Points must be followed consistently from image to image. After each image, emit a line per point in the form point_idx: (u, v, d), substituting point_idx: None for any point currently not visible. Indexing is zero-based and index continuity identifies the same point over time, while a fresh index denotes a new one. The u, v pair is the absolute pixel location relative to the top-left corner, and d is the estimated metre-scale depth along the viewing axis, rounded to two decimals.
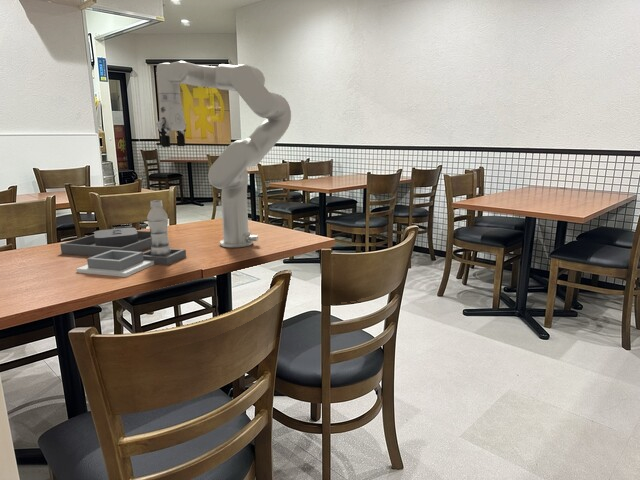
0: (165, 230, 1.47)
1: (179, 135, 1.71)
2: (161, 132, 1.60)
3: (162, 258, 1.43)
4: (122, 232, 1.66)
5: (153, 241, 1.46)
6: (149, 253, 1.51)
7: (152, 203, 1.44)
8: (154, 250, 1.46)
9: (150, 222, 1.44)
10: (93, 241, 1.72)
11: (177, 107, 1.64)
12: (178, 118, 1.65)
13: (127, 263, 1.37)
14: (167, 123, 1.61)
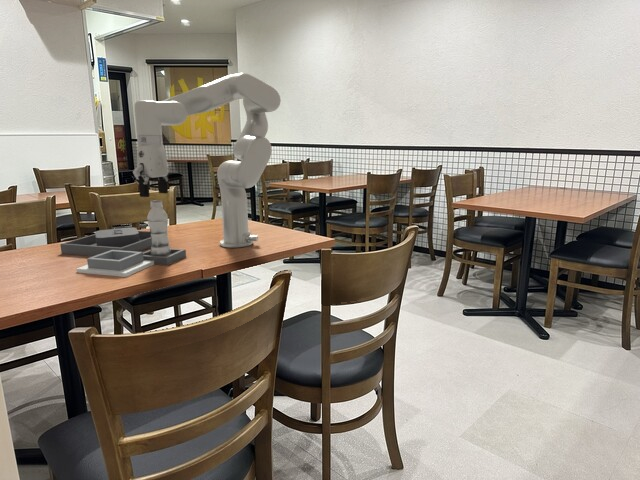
0: (165, 230, 1.47)
1: (161, 181, 1.48)
2: (138, 180, 1.37)
3: (162, 258, 1.43)
4: (123, 232, 1.66)
5: (153, 241, 1.46)
6: (149, 253, 1.51)
7: (152, 203, 1.44)
8: (154, 250, 1.46)
9: (150, 222, 1.44)
10: (93, 241, 1.72)
11: (158, 151, 1.41)
12: (159, 163, 1.41)
13: (127, 263, 1.37)
14: (146, 170, 1.38)
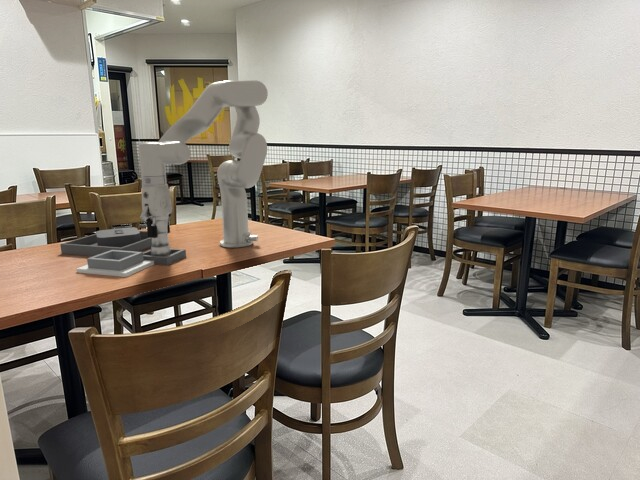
0: (165, 230, 1.47)
1: None
2: (147, 223, 1.42)
3: (162, 258, 1.43)
4: (124, 232, 1.67)
5: (153, 241, 1.46)
6: (149, 253, 1.51)
7: None
8: (154, 250, 1.46)
9: None
10: (93, 241, 1.72)
11: (162, 190, 1.44)
12: (163, 203, 1.45)
13: (127, 263, 1.37)
14: (151, 213, 1.41)
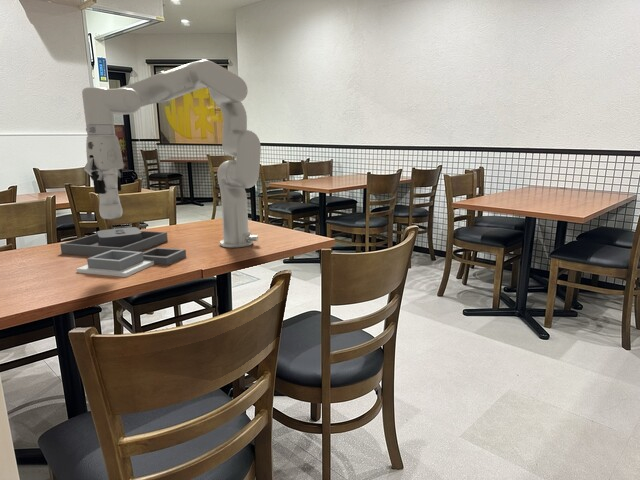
0: (114, 186, 1.34)
1: None
2: (92, 176, 1.29)
3: (162, 258, 1.43)
4: (125, 231, 1.67)
5: (101, 198, 1.33)
6: (149, 253, 1.51)
7: None
8: (102, 207, 1.34)
9: None
10: (93, 241, 1.72)
11: (110, 142, 1.31)
12: (111, 155, 1.32)
13: (127, 263, 1.37)
14: (97, 165, 1.29)
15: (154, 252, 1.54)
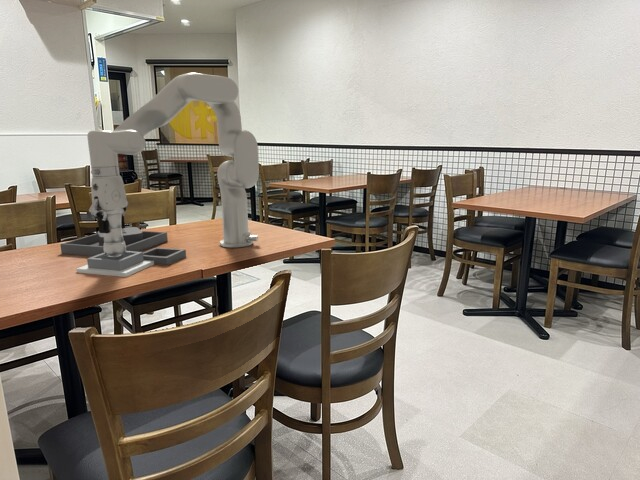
0: (118, 225, 1.37)
1: None
2: (97, 217, 1.32)
3: (162, 258, 1.43)
4: (126, 231, 1.67)
5: (105, 236, 1.36)
6: (149, 253, 1.51)
7: None
8: (107, 246, 1.36)
9: None
10: (93, 241, 1.72)
11: (114, 182, 1.34)
12: (115, 195, 1.35)
13: (127, 263, 1.37)
14: (102, 206, 1.31)
15: (154, 252, 1.54)
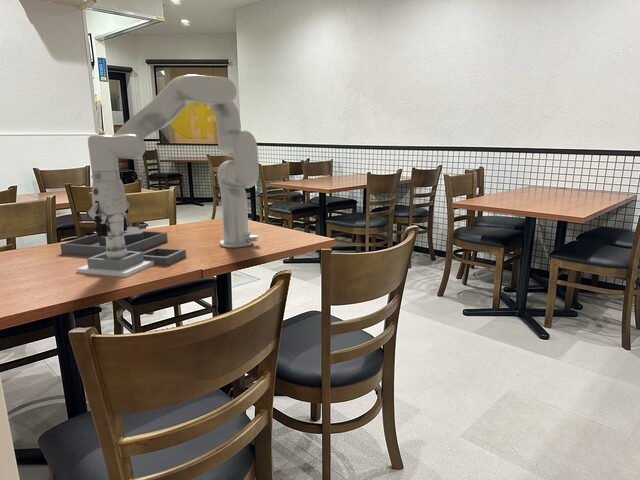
0: (120, 233, 1.38)
1: None
2: (95, 220, 1.31)
3: (162, 258, 1.43)
4: (127, 231, 1.68)
5: (107, 244, 1.37)
6: (149, 253, 1.51)
7: None
8: (109, 254, 1.37)
9: None
10: (93, 241, 1.72)
11: (115, 187, 1.34)
12: (116, 200, 1.35)
13: (127, 263, 1.37)
14: (102, 209, 1.31)
15: (154, 252, 1.54)
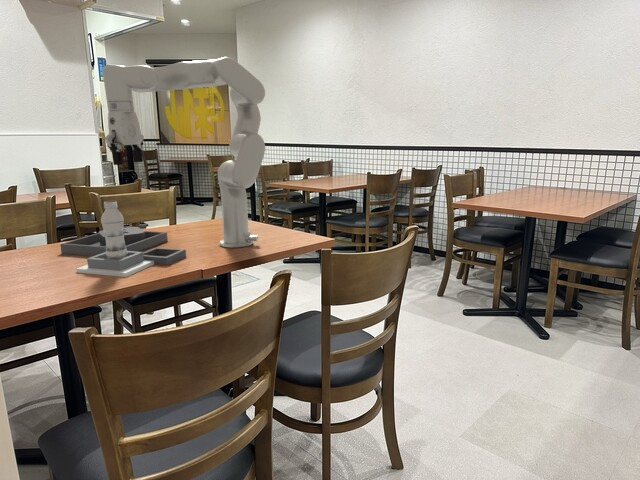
0: (120, 233, 1.38)
1: (135, 149, 1.46)
2: (111, 148, 1.35)
3: (162, 258, 1.43)
4: (128, 231, 1.68)
5: (107, 244, 1.37)
6: (149, 253, 1.51)
7: (105, 204, 1.35)
8: (109, 254, 1.37)
9: (103, 224, 1.35)
10: (93, 241, 1.72)
11: (130, 117, 1.38)
12: (131, 130, 1.39)
13: (127, 263, 1.37)
14: (118, 137, 1.35)
15: (154, 252, 1.54)
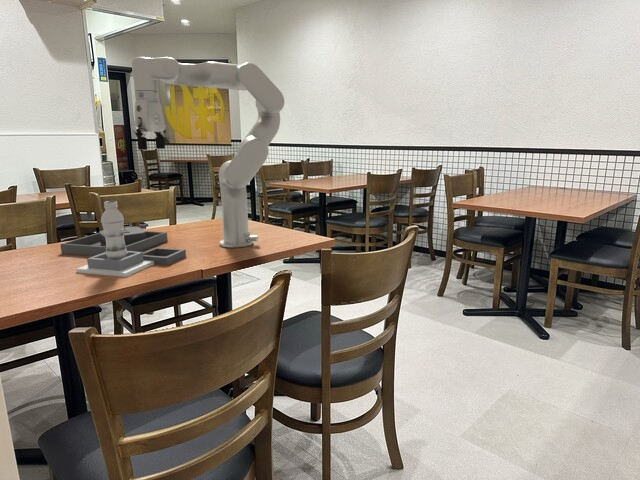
0: (120, 233, 1.38)
1: (158, 136, 1.56)
2: (137, 133, 1.45)
3: (162, 258, 1.43)
4: (129, 231, 1.68)
5: (107, 244, 1.37)
6: (149, 253, 1.51)
7: (106, 204, 1.35)
8: (109, 254, 1.37)
9: (104, 224, 1.35)
10: (93, 241, 1.72)
11: (155, 106, 1.49)
12: (156, 118, 1.49)
13: (127, 263, 1.37)
14: (143, 123, 1.46)
15: (154, 252, 1.54)
